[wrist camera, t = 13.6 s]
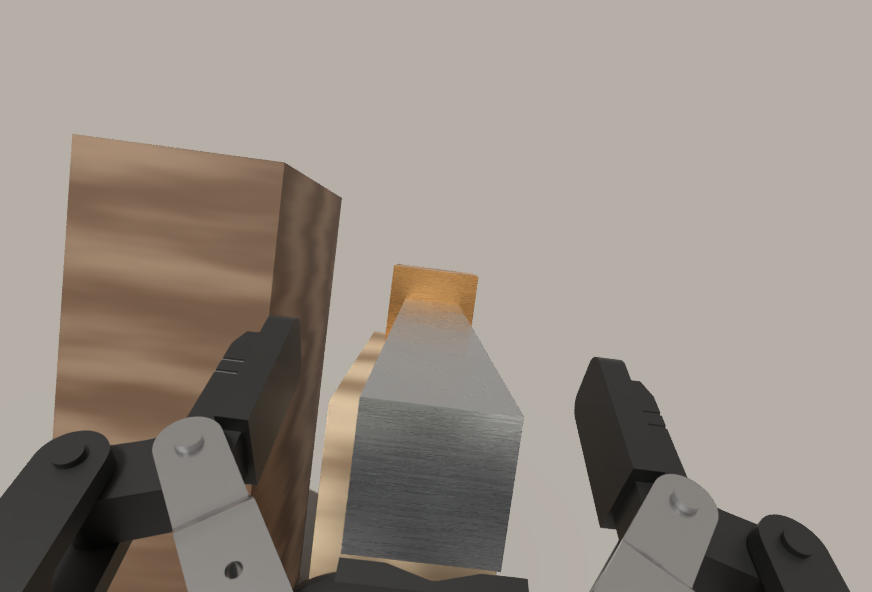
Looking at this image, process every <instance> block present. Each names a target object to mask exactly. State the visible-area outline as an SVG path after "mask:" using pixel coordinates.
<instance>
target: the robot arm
mask: <svg viewBox="0 0 872 592" xmlns="http://www.w3.org/2000/svg"><path fill="white" fill-rule="evenodd" d="M301 364H302V357H301V336H300V321H299V319H298V318H292V317H285V316H277V315H269V317H268V318H267V320H266V321H265V323H264V325H263V327H262V329H261V331H260V332H251V331H247V332H245V333H244V334H243V335H241V336H240V337H239V338H237V339H236V340H235V341H233V342H232V343H231V345H230V346H229V348H228V350H227V351H226V353H225V355H224V356H223V360H221V361H220V363H219V365H218V366H217V368H216V372H214V373H213V375H212V376H211V378H210V380H209V381H208V383H207V384H206V386H205V388H204V389H203V391H202V393H201V394H200V396H199V398H198V399H197V401H196V403H195V404H194V406H193V408H192V409H191V411H190V413H189V414H188V416H187V417H186V418H184V419H181V420H178V421H176V422H174V423H172V424H170V425H169V426H167V427H166V428H165V429H164V430H162V431H161V432H160V434H159V435H158V436H157V437H156V438H153V439H149V440H143V441H136V442H129V443H122V444H115V445H110V443H109V441H108V439H107V438H106V437H105V436H104V435H103V434H101V433H99V432H96V431H90V430H82V431H75V432H70V433H67V434H64V435H61V436H59V437H57V438H55V439H53V440H51V441H50V442H48V443H47V444H46V445H44V446H43V447H41V448H40V449H39V450H38V451H37V452H36V453H35V454H34V456H33V457H32V458H31V460H30V461H29V462H28V463H27V465H26V466H25V467H24V468H23V470H22V471H21V472H20V474H19V475H18V476H17V478H16V479H15V480H14V481H13V483H12V484H11V485H10V486H9V488H8V489H7V490H6V492H5V493H4V494H3V495H2V497H1V498H0V592H107V590H108V588H109V586H110V584H111V582H112V580H113V578H114V576H115V574H116V572H117V570H118V568H119V566H120V564H121V562H122V561H123V559H124V557H125V555H126V553H127V551H128V549H129V547H130V545H131V543H132V541H133V540H136V539H141V538H146V537H151V536H156V535H161V534H166V533H171V532H173V537H174V541H175V545H176V548H177V552H178V556H179V560H180V564H181V567H182V571H183V575H184V579H185V582H186V586H187V590H188V592H529V590H528V579H523V578H515V577H506V576H497V575H489V574H477V575H471V576H464V577H458V578H452V579H446V580H440V581H431V580H428V579H425V578H423V577H420V576H418V575H415V574H413V573H410V572H408V571H405V570H403V569H400V568H398V567H395V566H393V565H390V564H388V563H385V562H376V561H367V560H359V559H350V558H341V557H339V561H338V565H337V570H336V572H331V573H326V574H323V575H319V576H316V577H314V578H311V579H309V580H307V581H304V582H303V583H301V584H299V585H297V586H296V587H294V588H292V587H291V585H290V583H289V580H288V578H287V575H286V573H285V571H284V568H283V566H282V563H281V561H280V558H279V556H278V554H277V551H276V549H275V546H274V544H273V541H272V539H271V537H270V534H269V532H268V529H267V527H266V525H265V522H264V520H263V517H262V515H261V512H260V510H259V508H258V505H257V503H256V501H255V499H254V497H253V496H252V495H249V494H248V491H247V489H246V487H245V484H249V485H258V482H259V480H260V477H261V475H262V472H263V470H264V467H265V465H266V462H267V460H268V457H269V455H270V452H271V449H272V447H273V444H274V442H275V439H276V437H277V434H278V432H279V429H280V427H281V424H282V422H283V419H284V417H285V414H286V411H287V409H288V406H289V404H290V401H291V399H292V396H293V394H294V391H295V389H296V386H297V383H298V380H299V377H300V372H301ZM574 410H575V420H576V424H577V429H578V433H579V437H580V442H581V446H582V451H583V455H584V459H585V463H586V468H587V472H588V477H589V481H590V485H591V490H592V494H593V499H594V503H595V507H596V511H597V516H598V520H599V525H600V527H601V528H608V529H616V530H617V534H618V538H619V541H618V542H617V544H616V546H615V547H614V549H613V551H612V553H611V554H610V556H609V558H608V560H607V562H606V563H605V565H604V567H603V569H602V571H601V572H600V574H599V576H598V578H597V579H596V581H595V583H594V585H593V586H592V588H591V590H590V592H850V591H849V589H848V587H847V585H846V583H845V582H844V580H843V578H842V576H841V574H840V572H839V571H838V569H837V567H836V565H835V563H834V561H833V560H832V558H831V556H830V554H829V552H828V550H827V549H826V547H825V546H824V544H823V543H822V542H821V541H820V539H819V538H818V537H817V536H816V535H815V534H814V533H813V532H812V531H810V530H809V529H808V528H806V527H805V526H804V525H802V524H801V523H799V522H797V521H795V520H793V519H791V518H788V517H786V516H782V515H775V514H774V515H768V516H765V517H764V518H762V520H761V521H760V522H759V523H758V524H755V523H752V522H750V521H747V520H745V519H742V518H740V517H737V516H735V515H732V514H730V513H727V512H725V511H723V510H721V509H719V508H717V507H716V504H715V502H714V500H713V499H712V498H711V496H710V495H709V494H708V492H706V490H704V489H703V488H702V487H701V486H700V485H699V484H697V483H696V482H694V481H692V480H691V479H689V478H687V476H686V473H685V471H684V468H683V466H682V464H681V462H680V459H679V457H678V454H677V452H676V449H675V447H674V444H673V442H672V440H671V437H670V435H669V432H668V430H667V429H665V423H664V420H663V418H662V416H660V411H659V408H658V406H657V404H656V401H655V399H654V397H653V396H652V394H651V393H650V392H649V391H648V390H647V389H646V388H645V386H644V385H643V384H642V383H641V382H640V381H632V380H631V379H630V376H629V373H628V371H627V368H626V366H625V363H624V362H623V361H622V360H615V359H608V358H600V357H594V358H592V360H591V361H590V364H589V366H588V368H587V371H586V374H585V376H584V378H583V381H582V384H581V386H580V389H579V391H578V393H577V396H576V400H575V409H574Z"/></svg>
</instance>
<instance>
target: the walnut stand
mask: <svg viewBox="0 0 872 592" xmlns="http://www.w3.org/2000/svg"><path fill="white" fill-rule="evenodd" d="M341 200H342V198H341V197H339V196H337V195H336V194H334V193H333V192H331V191H329V190H328V189H326V188H325V187H323V186H321V185H320V184H318V183H317V182H315V181H313V180H312V179H310V178H309V177H307V176H305V175H304V174H302V173H300V172H299V171H297V170H296V169H294V168H292V167H291V166H289V165H288V164H286V163H284V162H277V161H269V160H262V159H254V158H247V157H240V156H231V155H224V154H217V153H209V152H202V151H195V150H188V149H180V148H173V147H165V146H158V145H151V144H143V143H136V142H128V141H121V140H113V139H106V138H99V137H91V136H83V135H76V134H72V149H71V164H70V180H69V195H68V211H67V226H66V241H65V257H64V272H63V287H62V304H61V318H60V334H59V349H58V364H57V365H58V366H57V380H56V395H55V411H54V427H53V439H55V438H57V437H59V436H61V435H64V434H67V433H70V432H75V431H82V430H90V431H96V432H99V433H101V434H103V435H104V436H105V437H106V438H107V439H108V441H109V443H110V445H115V444H122V443H129V442H136V441H143V440H149V439H153V438H156V437H157V436H158V435H159V434H160V432H161V431H162V430H164V429H165V428H166V427H167V426H169V425H170V424H172V423H174V422H176V421H178V420H181V419H184V418H186V417H187V416H188V414H189V413H190V411H191V409H192V408H193V406H194V404H195V403H196V401H197V399H198V398H199V396H200V394H201V393H202V391H203V389H204V388H205V386H206V384H207V383H208V381H209V380H210V378H211V376H212V375H213V373H214V372H216V368H217V366H218V365H219V363H220V361H221V360H223V356H224V355H225V353H226V351H227V350H228V348H229V346H230V345H231V343H232V342H233V341H235V340H236V339H237V338H239V337H240V336H241V335H243V334H244V333H245V332H247V331H251V332H260V331H261V329H262V327H263V325H264V323H265V321H266V320H267V318H268V317H269V315H277V316H285V317H292V318H298V319H299V321H300V336H301V357H302V364H301V372H300V377H299V380H298V383H297V386H296V389H295V391H294V394H293V396H292V399H291V401H290V404H289V406H288V409H287V411H286V414H285V417H284V419H283V422H282V424H281V427H280V429H279V432H278V434H277V437H276V439H275V442H274V444H273V447H272V449H271V452H270V455H269V457H268V460H267V462H266V465H265V467H264V470H263V472H262V475H261V477H260V480H259V482H258V485H249V484H245V487H246V489H247V491H248V494H249V495H252V496H253V497H254V499H255V501H256V503H257V505H258V508H259V510H260V512H261V515H262V517H263V520H264V522H265V525H266V527H267V529H268V532H269V534H270V537H271V539H272V541H273V544H274V546H275V549H276V551H277V554H278V556H279V558H280V561H281V563H282V566H283V568H284V571H285V573H286V575H287V578H288V580H289V583H290V585H291V587H292V588H294V587H295V585H296V582H297V580H298V577H299V574H300V565H301V556H302V548H303V539H304V530H305V521H306V512H307V503H308V494H309V485H310V476H311V467H312V458H313V449H314V441H315V432H316V422H317V414H318V405H319V396H320V387H321V377H322V369H323V360H324V351H325V343H326V334H327V324H328V316H329V307H330V297H331V288H332V280H333V270H334V262H335V253H336V244H337V235H338V226H339V217H340V208H341ZM107 592H188V590H187V586H186V582H185V579H184V575H183V571H182V567H181V564H180V560H179V556H178V552H177V548H176V545H175V541H174V537H173V532H171V533H166V534H161V535H156V536H151V537H146V538H141V539H136V540H133V541H132V543H131V545H130V547H129V549H128V551H127V553H126V555H125V557H124V559H123V561H122V562H121V564H120V566H119V568H118V570H117V572H116V574H115V576H114V578H113V580H112V582H111V584H110V586H109V588H108V590H107Z"/></svg>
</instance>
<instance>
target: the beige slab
mask: <svg viewBox="0 0 872 592" xmlns="http://www.w3.org/2000/svg"><path fill="white" fill-rule="evenodd" d="M385 336H386V333H381V332H374V333H373V335H372V336H371V338H370V339H369V341H368V342H367V344H366V345H365V347H364V348H363V350H362V352H361V353H360V355H359V356H358V358H357V359H356V361H355V362H354V364H353V365H352V367H351V368H350V370H349V371H348V373H347V374H346V376H345V377H344V379H343V381H342V382H341V384H340V385H339V387H338V388H337V390H336V391H335V393H334V395H333V396H332V397H331V399H330V401H329V406H328V415H327V424H326V433H325V442H324V450H323V460H322V468H321V476H320V486H319V494H318V503H317V511H316V520H315V529H314V538H313V547H312V555H311V564H310V573H309V579H311V578H314V577H316V576H319V575H323V574H326V573H331V572H336V570H337V565H338V561H339V557H341V558H350V559H359V560H367V561H376V562H385V563H388V564H390V565H393V566H395V567H398V568H400V569H403V570H405V571H408V572H410V573H413V574H415V575H418V576H420V577H423V578H425V579H428V580H431V581H440V580H446V579H452V578H458V577H464V576H471V575H477V574H489V575H496V571H488V570H479V569H470V568H462V567H453V566H444V565H435V564H426V563H417V562H408V561H400V560H391V559H382V558H373V557H364V556H355V555H346V554H341V548H342V540H343V531H344V523H345V514H346V506H347V498H348V489H349V481H350V473H351V464H352V456H353V447H354V439H355V431H356V422H357V414H358V406H359V397H360V395H361V393H362V390H363V388H364V386H365V384H366V382H367V380H368V378H369V375H370V373H371V371H372V369H373V367H374V365H375V363H376V360H377V358H378V356H379V354H380V352H381V350H382V348H383V345H384V343H385Z"/></svg>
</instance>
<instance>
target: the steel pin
mask: <svg viewBox="0 0 872 592" xmlns="http://www.w3.org/2000/svg"><path fill="white" fill-rule="evenodd" d="M477 282H478V276H476V275H474V274H471V273H463V272H455V271H447V270H439V269H432V268H424V267H416V266H408V265H401V264H397V265H394V271H393V279H392V287H391V295H390V304H389V311H388V319H387V327H386V336H385V343H384V345H383V348H382V350H381V352H380V354H379V356H378V358H377V360H376V363H375V365H374V367H373V369H372V371H371V373H370V375H369V378H368V380H367V382H366V384H365V386H364V388H363V390H362V393H361V395H360V397H359V406H358V414H357V422H356V431H355V439H354V447H353V456H352V464H351V473H350V481H349V489H348V498H347V506H346V514H345V523H344V531H343V540H342V548H341V554H346V555H355V556H364V557H373V558H382V559H391V560H400V561H408V562H417V563H426V564H435V565H444V566H453V567H462V568H470V569H479V570H488V571H498V572H501V567H502V560H503V554H504V547H505V540H506V534H507V527H508V520H509V513H510V507H511V500H512V493H513V487H514V480H515V473H516V467H517V460H518V453H519V447H520V440H521V433H522V426H523V420H524V416H523V414H522V413H521V411H520V409H519V407H518V406H517V404H516V402H515V400H514V399H513V397H512V395H511V394H510V392H509V390H508V388H507V387H506V385H505V383H504V382H503V380H502V378H501V377H500V375H499V373H498V371H497V370H496V368H495V367H494V364H493V363H492V361H491V359H490V357H489V356H488V354H487V352H486V351H485V349H484V347H483V345H482V344H481V342H480V340H479V339H478V337H477V335H476V334H475V332H474V330H473V328H472V327H471V326H472V318H473V311H474V304H475V297H476V290H477Z"/></svg>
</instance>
